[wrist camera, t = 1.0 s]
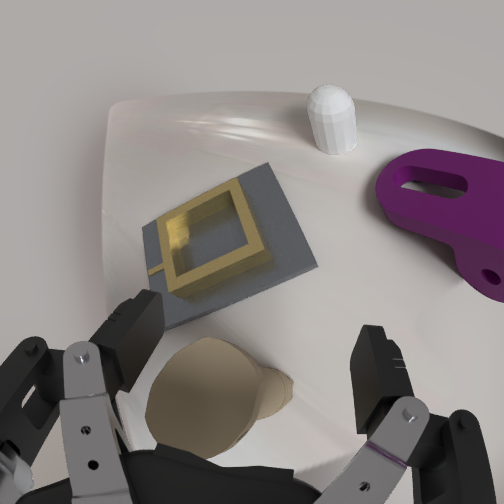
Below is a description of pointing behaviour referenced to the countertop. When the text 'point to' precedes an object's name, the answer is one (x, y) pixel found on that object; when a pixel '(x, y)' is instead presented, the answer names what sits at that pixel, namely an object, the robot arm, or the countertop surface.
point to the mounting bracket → (452, 210)
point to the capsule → (332, 119)
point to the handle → (212, 397)
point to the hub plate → (224, 247)
